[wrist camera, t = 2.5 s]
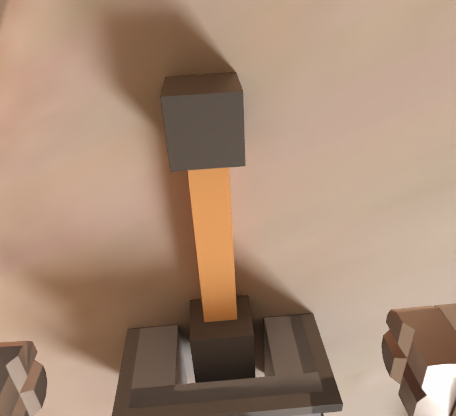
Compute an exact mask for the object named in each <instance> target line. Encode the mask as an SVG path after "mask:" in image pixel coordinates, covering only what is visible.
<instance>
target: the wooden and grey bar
mask: <svg viewBox="0 0 456 416" xmlns="http://www.w3.org/2000/svg"><path fill="white" fill-rule="evenodd" d="M160 98H161V105H162V113H163V120H164V128H165V135H166V142H167V150H168V157H169V165H170V172H173V171H186V170H187V171H188V180H189V189H190V198H191V207H192V216H193V225H194V234H195V243H196V252H197V261H198V270H199V279H200V288H201V297H202V299H200V300H190V347H191V354H192V361H193V368H194V375H195V382H196V383H202V382H213V381H224V380H236V379H247V378H255V348H254V331H253V324H252V318H251V312H250V305H249V299H248V296H236V288H235V269H234V250H233V232H232V213H231V195H230V176H229V167H240V166H245V141H244V109H243V90H242V87H241V84H240V82H239V79H238V76H237V73H236V72H233V73H218V74H203V75H188V76H173V77H165V81H164V85H163V89H162V93H161V96H160Z"/></svg>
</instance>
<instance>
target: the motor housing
mask: <svg viewBox="0 0 456 416" xmlns="http://www.w3.org/2000/svg"><path fill="white" fill-rule="evenodd" d="M264 367H265V377H258V378H247V379H236V380H224V381H213V382H202V383H191V384H187V380H186V374H185V367H184V361H183V355H182V348H181V342H180V336H179V329H178V325H172V326H160V327H148V328H137V329H128V332H127V337H126V342H125V348H124V353H123V359H122V364H121V369H120V375H119V380H118V385H117V391H116V396H115V402H114V407H113V412H112V416H324V415H323V413H326V412H337V411H342V406H343V403H342V400H341V397H340V394H339V391H338V388H337V385H336V381H335V378H334V375H333V372H332V369H331V366H330V363H329V360H328V357H327V354H326V351H325V348H324V345H323V342H322V339H321V336H320V333H319V330H318V327H317V324H316V321H315V318H314V315H313V314H301V315H289V316H278V317H266V318H264Z"/></svg>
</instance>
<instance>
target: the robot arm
mask: <svg viewBox="0 0 456 416" xmlns="http://www.w3.org/2000/svg"><path fill="white" fill-rule="evenodd" d="M386 323H387V325H388V327H389V329H390V330H389V331H387V332H386V333H385V334H384V335H383V340H382V355H383V360H384V363H385V366H386V369H387V371H388V373H389V375H390V377H391V378H393V379H394V380H395V381H397V382H398V383H399V384H401V385H400V389H399V394H398V395H399V397H400V399H401V401H402V403H403V405H404V407H405V409H406V411H407V413H408V415H409V416H456V304H446V305H435V306H423V307H413V308H403V309H392V310H390V312H389V313H388V315H387V319H386ZM36 354H37V350H36V348H35V346H34V344H33V342H31V341H18V342H1V343H0V416H34V415H35V414H36V413H37V412H38V411H39V410H40V409H41V408H42V406H43V403H44V400H45V397H46V388H47V377H46V372H45V369H44V367H43V365H42V364H40V363H39V362H37V361H36V360H34V359H35V357H36Z"/></svg>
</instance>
